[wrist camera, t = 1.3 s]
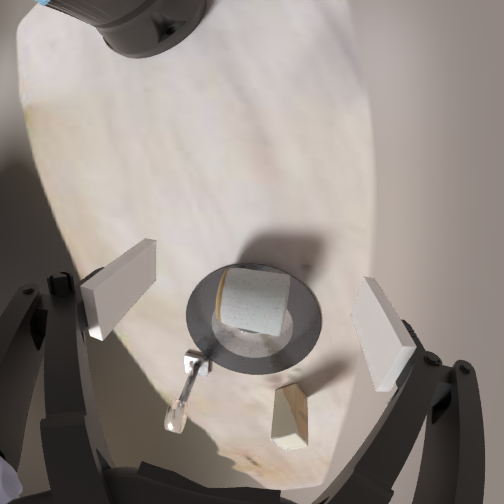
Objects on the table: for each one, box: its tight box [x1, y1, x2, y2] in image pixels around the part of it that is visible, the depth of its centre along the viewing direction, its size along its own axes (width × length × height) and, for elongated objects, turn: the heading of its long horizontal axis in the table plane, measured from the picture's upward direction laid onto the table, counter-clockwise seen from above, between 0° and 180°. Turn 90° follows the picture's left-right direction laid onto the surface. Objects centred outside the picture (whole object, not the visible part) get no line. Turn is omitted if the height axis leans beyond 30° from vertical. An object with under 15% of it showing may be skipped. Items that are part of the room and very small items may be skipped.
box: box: [271, 384, 308, 451], centre depth 38 cm, size 5×4×11 cm
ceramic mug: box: [215, 268, 290, 336], centre depth 33 cm, size 11×8×8 cm
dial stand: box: [165, 352, 209, 434], centre depth 36 cm, size 6×4×14 cm, turn 172°
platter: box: [186, 264, 321, 375], centre depth 39 cm, size 20×20×1 cm
